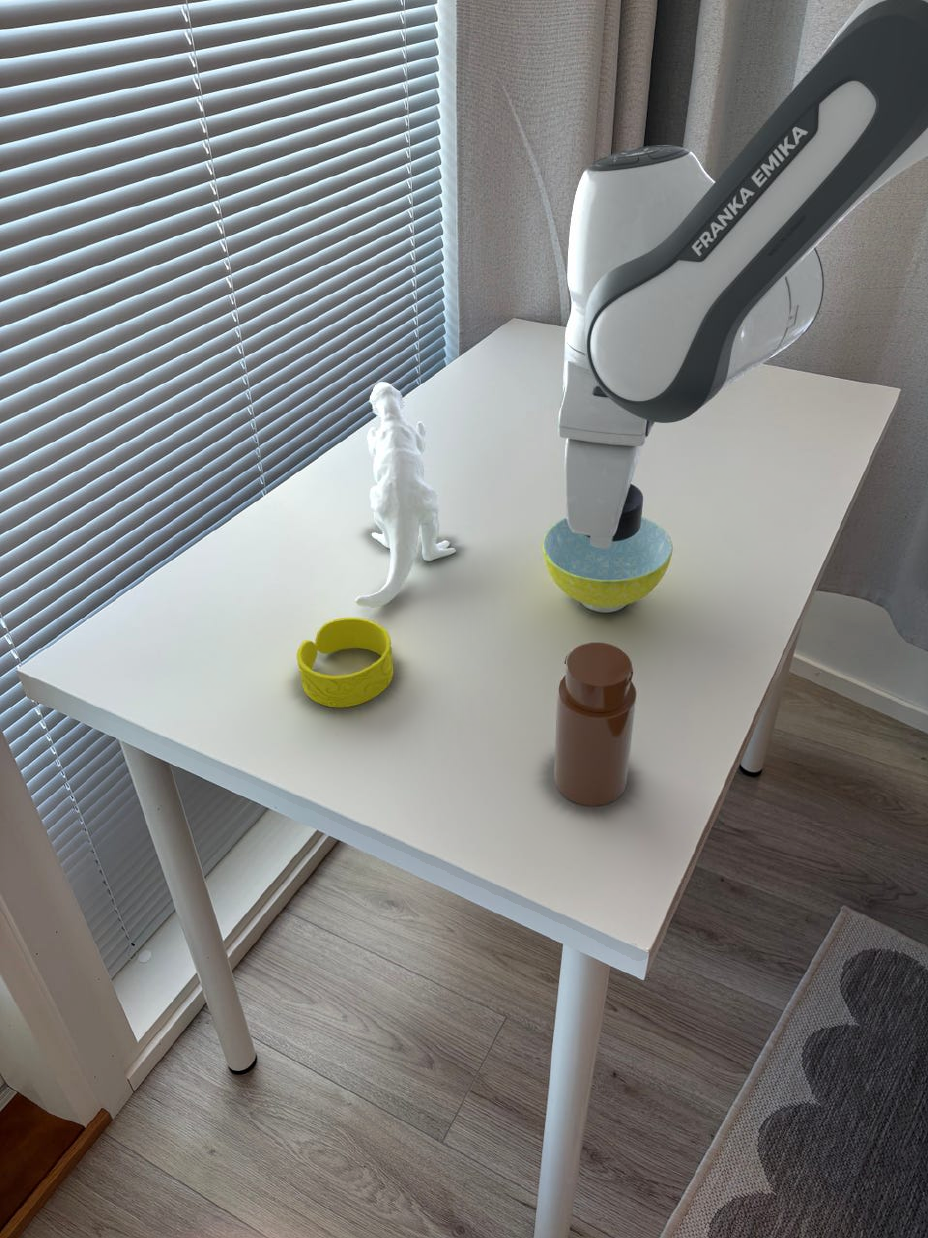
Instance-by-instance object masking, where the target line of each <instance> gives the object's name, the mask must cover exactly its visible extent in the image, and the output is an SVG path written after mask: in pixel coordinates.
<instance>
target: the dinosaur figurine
mask: <svg viewBox="0 0 928 1238" xmlns="http://www.w3.org/2000/svg"><path fill="white" fill-rule="evenodd" d="M368 402H369V403H370V404H371V405H372V408H371V409H372V413H373V414H375V415H376V416H377V417H380V428H379V429H378V430H377V427H374V426H373V427H371V428H370V429H369V430H368V433H367V438H366V439H367V443H368V452H369V453H370V455H371V457H372V459H373V460H374V461H373V466H372V468H373V476H374V479H375V482H376V484H377V485H374V486H372V488H371V489H370V492H369V499H370V502H371V504H370V507H371V510H372V512H373V518H374V522H375V524H376V526H377V527H378V529H379V530H380V531H381V532H382V534H380V533H377V532H372V533H371V536H372V538H373V539H375V540H376V541H378V542H379V543H380V544H381V545H383V546H384V547H385V548H387V549H389V551H390V561H389V571H388V575H387V579H386V583H385V584H384V586H382V588H380V589H379V590H378V591H377V592H374V593H371V594H367V595H359V596H357V598H355V601H354V602H355V605H357V606H358V607H363V608H367V609H375V608H380V607H383V606H385V605H387V604H389V603H391V601H392V600H394V599H395V598H396V596H397V595H398V594H399V593H400V591H401V589H402V588H403V587H404V585H405V583H406V581H407V578H408V576H409V574H410V572H411V570H412V566H413V563H414V559H415V555H416V551H417V546H418V544H419V536H420V541H421V546H422V548H421V549H422V550H421V555H422V559H423V560H424V561H426V562H433V561H434V560H437V559H441V558H444V557H447V556H450V555H453V554H454V553H456V551H457V550H456V548H453V547H450V548H448V547H449V546H450V542H449V541H448V540H443V541H442V542H441V541H440V542H438V543H437V539H438V538H439V537H438V536H439V534H440V521H439V511H440V510H439V509H440V507H439V504H438V495H437V493H436V491H435V490H434V488H433V487H432V486H431V485H430V484H429V483H427V482H426V480H425V468H424V467H425V466H424V460H423V456H422V454H423V453H425V450H426V440H425V437H426V434H427V428H426V426H425V423H424V421H422V420H419V421H417V423H416V429H415V427H414V426H413V424H411V423H410V422H407V421H406V419H405V417H404V413H403V410H404V407H405V405H404V399H403V395H402V393H401V391H400V390H398V389H397V388H395V387H394V386H393V385H392V384H391V383H389V382H383V381H381V382H378V383H377V384H375V386H374V387H373V390H372V392H371V395H370V396H369V401H368Z"/></svg>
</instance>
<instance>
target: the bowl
mask: <svg viewBox="0 0 928 1238" xmlns="http://www.w3.org/2000/svg"><path fill="white" fill-rule="evenodd" d="M673 548H674V546H673V542H672V539H671V536H670V535H669V534H668V533H667V531H666V530H665V529H664V528H663V527H661V526H660V525H659V524H658V523H656V522H654V521H653V520H651V519H649V518H647V517H645V516H642V517H641V526H640V529H639V531H638V532H637V533H636V534H635V535H634V536H632V537H630V538H628V539H625V540H621V541H614V542H612V545H611V547H610V548H608V549H603V548H596V547H593V546H592V545H591V544H590V538H589V537H587V536H585V535H581V534H576V533H574V532H572V531H571V529H570V527H569V525H568V522H567V516H565V517H563V518H561V519H559V520H558V521H557V522H555V523H554V524H552V525H551V526H550V527H549V529H548V530H547V531H546V533H545V535H544V537H543V540H542V552H543V560H544V563H545V566H546V568H547V571H548V574H549V575H550V577H551V579H552V581H553V582H554V583H555V585H556V586H557V587H558V588H559V589H560V590H561V591H562V592H563V593H564V594H566V595H567V596H569V597H570V598H571V599H573V600H575V601H577V602H580V603H581V604H582V606H584V607H585V608H586V609H588V610H591V611H593V612H596V613H597V612H598V613H606V614H607V613H613V612H617V611H620V610H622V609H623V608H624V607H626V606H627V605H630V604H633V603H635V602H638V601H640V600H641V599H642V598H644V597H646V596H647V595H649V594H650V593H651V592H652V591H653V590H654V589H655V588H656V587H657V586H658V585H659V584H660V582H661V581H662V579H663V577H664V576H665V575H666V572H667V570H668V568H669V565H670V562H671V559H672V555H673V551H674V550H673Z"/></svg>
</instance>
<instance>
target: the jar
mask: <svg viewBox="0 0 928 1238" xmlns="http://www.w3.org/2000/svg"><path fill="white" fill-rule="evenodd" d="M563 664H564V665H565V674H564V675H563V676H562V677H561V679H560V681H559V683H558V685H557V695H556V717H555V719H556V720H555V721H556V722H555V741H554V743H555V745H554V764H553V765H554V766H553V781H554V784H555V786H556V788H557V790H558V791H559V792H560V794H561V795H562V796H563V797H565V798H566V799H568V800H569V801H571V802H573V803H576V804H578V805H582V806H588V807H598V806H604V805H607V804H610V803H612V802H614V801H616V800H618V798H619V797H621V796H622V794H623V793H624V792H625V789H626V786H627V782H628V775H629V774H628V773H629V764H630V757H631V747H632V738H633V730H634V728H633V727H634V721H635V720H634V719H635V713H636V712H635V711H636V703H637V689H636V686H635V684H634V682H633V681H632V680H633V676H634V667H633V663H632V660H631V657H630V656H629V654H628V653H626V652H625V651H624V650H623V649H622V648H620V647H618V646H616V645H614V644H610V643H605V642H588V643H584V644H581V645H578V646H576V647H575V648H573V649H572V650H571V651H569V652H568V654H567V655H566V656H565V660H564V663H563Z"/></svg>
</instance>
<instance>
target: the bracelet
mask: <svg viewBox="0 0 928 1238" xmlns="http://www.w3.org/2000/svg"><path fill="white" fill-rule="evenodd" d="M391 645H392V641H391V636H390V634H389V632H388V630H386V629H385V627H383V626H382V625H381V624H379V623H377V622H375V621H373V620H370V619H366V618H362V617H339V618H335V619H332V620H329V621H327V622H325V623H323V625H321V627H319V630H318V631H317V633H316V636H315V641H314V642H313V641H312V640H309V639H306V640H303V641H302V642H301V644H300V645H299V647H298V649H297V651H296V661H297V665H298V670H299V674H300V680H301V685H302V689H303V692H304V694H305V695H306V696H307V697H308V698H309V699H311V700H312V701H313V702H315V703H317V704H320V705H322V706H325V707H330V708H348V707H354V706H358V705H361V704H364V703H366V702H369V701H371V700H372V699H374V698H376V697H377V696H378V695H380V694H381V693H383V692H384V691H385V690H386V689H387V687H388V686H389V685H390V684H391V681H392V680H393V676H394V665H393V664H394V663H393V661H394V660H393V652H392V650H393V649H392V646H391ZM347 649H365V650H369V651H371V652H373V653H376V654H378V655H379V656H380V657H379V658H378V660H376V661H375V662H373V663H371V665H369V666H368V667H365V668H364V669H361V670H359V671H356V672H353V673H349V674H343V675H342V674H341V675H328V674H323V673H321V672H317V671H314V670H313V669H312V668H313V667H314V664H315V663H316V660H317V657H318V653H320V654H325V655H327V654H332V653H334V652H338V651H340V650H347Z"/></svg>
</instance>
